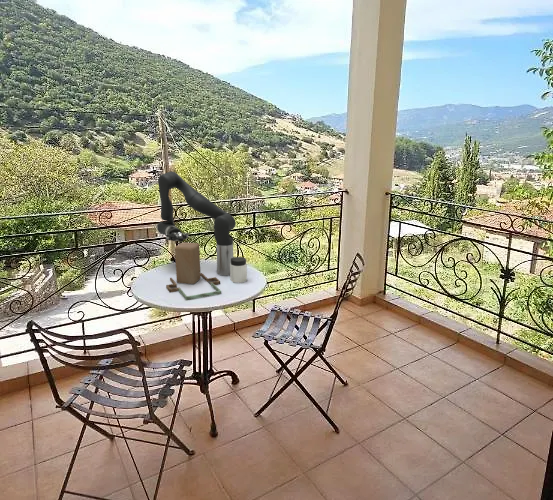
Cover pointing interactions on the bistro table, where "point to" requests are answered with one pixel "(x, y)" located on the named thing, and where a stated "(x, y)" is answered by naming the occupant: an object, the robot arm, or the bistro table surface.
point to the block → (187, 263)
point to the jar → (238, 270)
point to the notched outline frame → (211, 281)
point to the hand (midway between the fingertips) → (181, 240)
